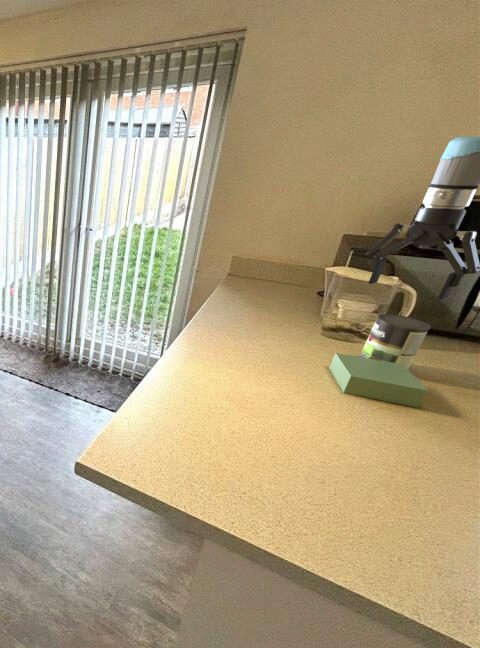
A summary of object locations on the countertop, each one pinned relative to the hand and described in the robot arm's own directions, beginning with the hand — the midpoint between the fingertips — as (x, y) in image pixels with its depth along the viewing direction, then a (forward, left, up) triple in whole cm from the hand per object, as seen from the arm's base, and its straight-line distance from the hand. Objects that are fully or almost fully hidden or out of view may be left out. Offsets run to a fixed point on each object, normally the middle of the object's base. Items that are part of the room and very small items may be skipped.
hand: (405, 290), depth 103 cm
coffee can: (-3, -4, -24) cm, 25 cm away
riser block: (+1, +13, -24) cm, 27 cm away
